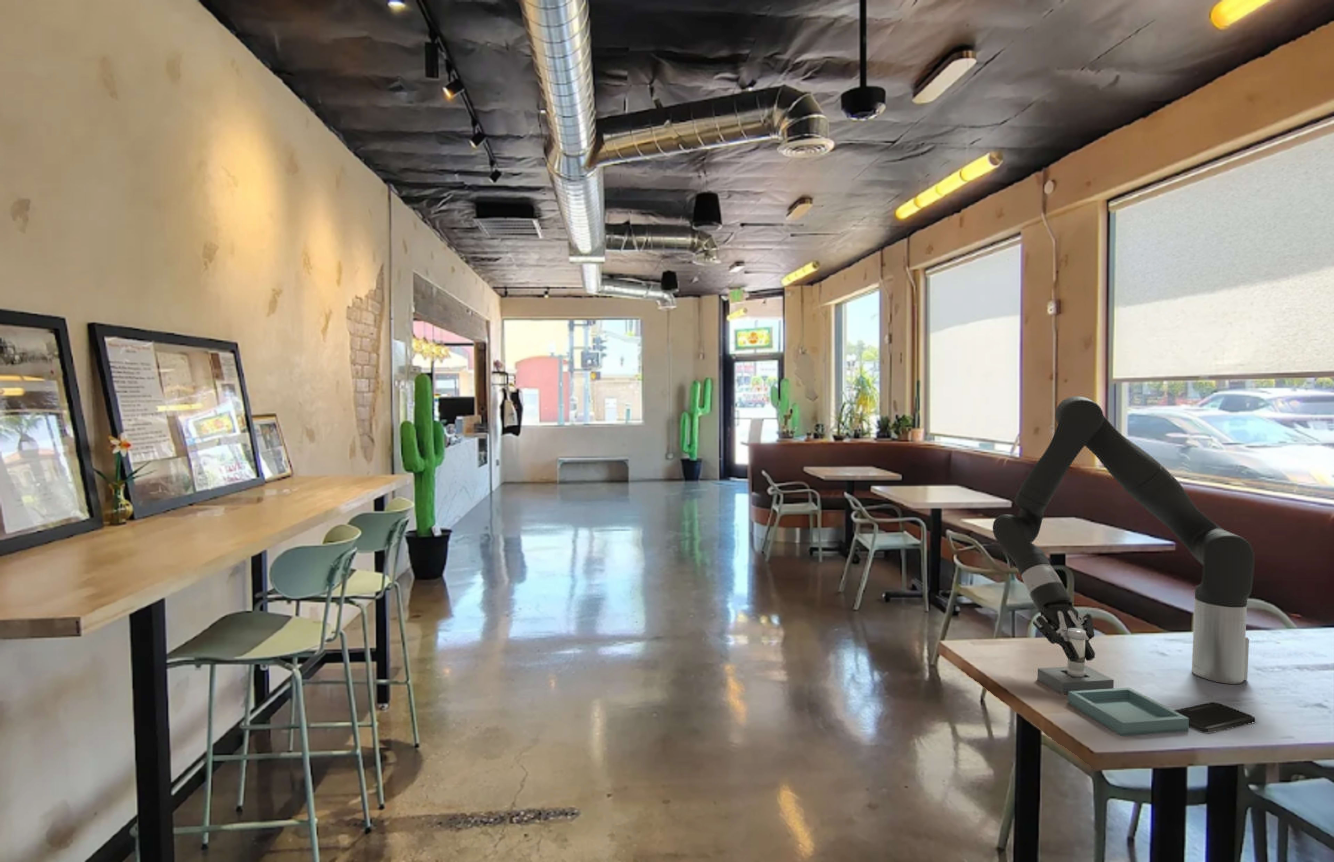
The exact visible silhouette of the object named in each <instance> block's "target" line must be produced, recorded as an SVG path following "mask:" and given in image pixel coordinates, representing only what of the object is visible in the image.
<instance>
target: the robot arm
mask: <svg viewBox="0 0 1334 862" xmlns="http://www.w3.org/2000/svg"><path fill="white" fill-rule="evenodd" d="M1055 420H1056V423H1057V426H1056V429H1055V431H1054V434H1053V436H1052V439H1051V440H1050V442H1049V444H1048V446H1047V447H1046V449H1045V451H1044V452H1043V454H1042V455H1041V457H1040V458H1039V460H1038V461H1037V462H1036V463H1035V465H1034V466H1033V468H1031V470H1030V471H1029V473H1028V475H1026V477H1025V480H1024V481H1023V483H1022V484H1021V486H1020V488H1019V490H1018V492H1016V496H1015V498H1014V503H1015V504H1016V505H1017V506H1018V507H1019V508H1020V509H1019V513H1018V516H1017V515H1013V514H1008V513H1007V514H1006V513H1005V514H1004V513H1003V514H1001V515H999V516H997V517H996V518H994V521H993V524H992V533H993V535H994V538H995V540H996V541H997V543H998V544H999V546H1000V547H1001V548H1002V549H1003V550H1004V552H1005V553H1006V554H1007V556H1008V557H1009V558H1010V559H1011V560H1012V561H1013V562H1014V564H1015V567H1016V568H1017V571H1018V573H1019V574H1020V576H1021V579H1022V580H1023V584H1024V586H1025V589H1026V591H1027V593H1028V594H1029V596H1030V598H1031V600H1032V603H1033V604H1034V606H1035V608H1036V610H1037V612H1038V613H1039V614H1040V615H1039V616H1037V617H1036V618H1035V619H1033V621H1032V624H1033V626H1034V627H1035V628H1036V629H1037V631H1039V632H1040V633H1041V634H1042V635H1043V636H1044V638H1046V639H1047V640H1048V642H1050V644H1052V645H1054V644H1056V645H1059V646H1061V649H1062V650H1063V653H1064V654H1065V656H1066V658H1067V660H1068V659H1070V661H1071V662H1075V661H1076V660H1078V659H1079V656H1078V654H1077V652H1076V650H1075V648H1074V646H1073V645H1072V643H1071V642H1069V637H1068V628H1078V629H1082V630H1085V631H1086V639H1085V661H1089V662H1090V661H1092V660H1093V659H1095V655H1096V652H1095V651H1094V649H1093V647H1092V645H1091V643H1090V640H1092V639H1093V638H1094V637H1096V636H1095V630H1094V623H1093V617H1092V615H1091V614H1090V613H1086V614H1082V613H1080V612H1079V611H1078V610H1077V609H1076V608H1075V607H1074V606H1073V601H1072V600H1073V599H1072V598H1071V597H1070V595H1069V593H1068V591H1067V589H1066V588H1065V585H1064V584H1063V581H1062V580H1061V578H1060V576H1059V575H1058V573H1057V572H1056V570H1055V569H1054V568H1053V566H1052V565H1051V563H1050V560H1049V559H1048V557H1047V556H1046V554H1045V552H1044V551H1043V549H1041V548H1040V547H1039V546H1038V545H1035V544H1034V543H1033V542H1034V541H1035V540H1036V539H1037V537H1038V536H1039V533H1040V530H1041V526H1042V522H1043V520H1044V519H1043V518H1044V515H1045V514H1044V513H1045V510H1046V508H1047V506H1048V505H1049V503H1050V502H1051V500H1052V498H1053V497H1054V495H1055V492H1056V491H1057V490H1058V487H1059V486H1060V484H1061V482H1062V480H1063V478H1064V477H1065V475H1066V473H1067V472H1068V471H1069V468H1070V466H1072V464H1073V462H1074V460H1075V459H1076V458H1077V457H1078V455H1079V454H1080V453H1081V452H1082V450H1083V448H1084V447H1086V448H1087V449H1088V450H1089V451H1091V453H1092V454H1093V455H1095V457H1096V458H1097V460H1099V461H1100V463H1101V464H1102V466H1103V467H1104V468H1105V469H1106V470H1107V472H1108V473H1109V474H1110V475H1111V476H1112V477H1113V479H1114V480H1115V481H1116V482H1117V483H1118V484H1119V485H1120V486H1121V487H1122V488H1123V489H1124V490H1125V491H1126V492H1127V493H1128V494H1129V496H1131V497H1132V498H1133V499H1134V500H1135V501H1136V502H1137V503H1139V504H1140V505H1141V506H1142V508H1144V509H1145V510H1147V511H1148V512H1149V513H1150V514H1151V515H1152V516H1154V517H1155V518H1156V519H1158V521H1160V522H1161V523H1163V524H1164V525H1165V526H1166V527H1168V528H1169V529H1170V530H1171V531H1172V533H1173V534H1174V535H1175V536H1176V537H1177V538H1178V539H1179V541H1180V542H1181V543H1182V544H1183V545H1184V546H1185V547H1186V548H1187V549H1186V550H1188V552H1189V553H1191V555H1192V556H1193V557H1194V558H1195V559H1196V560H1197V562H1199V563H1200V564H1201V565H1202V567H1203V569H1202V579H1201V582H1200V583H1199V584H1197V585H1196V586H1195V589H1194V610H1193V611H1194V612H1193V614H1194V615H1193V633H1192V635H1193V636H1192V637H1193V638H1192V655H1191V657H1192V659H1191V672H1192V673H1193V674H1194V675H1196V676H1198V677H1199V678H1202V679H1206V680H1209V681H1212V682H1216V683H1223V684H1231V685H1232V684H1233V685H1235V684H1236V685H1237V684H1242V683H1243V682H1244V681H1247V680H1248V675H1249V674H1248V672H1249V650H1250V648H1249V647H1250V639H1249V637H1247V636H1246V633H1247V632H1246V631H1247V612H1248V611H1247V610H1248V607H1247V606H1248V598H1249V597H1250V596H1251V593H1252V589H1253V582H1254V571H1255V570H1254V569H1255V552H1254V549H1253V547H1252V545H1251V543H1250V542H1249V541H1247V539H1245V538H1244V537H1242V536H1240V535H1237V534H1235V533H1232V532H1230V531H1228V530H1226V529H1223V528H1222V527H1220V526H1219V525H1218V524H1217V523H1215V522H1214V521H1212V520H1211V519H1210V518H1209V517H1207V516H1206V515H1205V514H1204V513H1203V512H1201V510H1199V508H1198V507H1197V506H1196V505H1195V504H1194V503H1193V501H1192V500H1191V498H1190V497H1189V495H1188V494H1187V493H1188V492H1186V490H1185V489H1184V488H1183V486H1182V484H1181V483H1180V482H1179V481H1178V479H1176V477H1174V475H1172V473H1170V471H1169V470H1168V469H1166V468H1165V467H1164V466H1163V465H1162V464H1161V463H1160V462H1159V461H1157V460H1156V459H1155V458H1154V457H1153V456H1151V454H1149V453H1148V452H1146V450H1144V449H1142V448H1141V447H1139V445H1137V444H1135V443H1134V442H1132V441H1131V440H1130V439H1128V438H1126V437H1125V436H1124V435H1123V434H1122V433H1120V432H1119V431H1118V430H1117V428H1115V427H1114V425H1112V423H1111V422H1110V421H1109V420H1108V419H1107V417H1106V416H1105V415H1104V411H1103V409H1102V408H1101V406H1100V405H1099V404H1098V403H1097V402H1095V401H1094V400H1092V399H1090V398H1087V397H1085V396H1080V395H1079V396H1070V397H1067V398H1064V399H1063V400H1062V401H1061V402H1060V403H1059V404H1058V405H1057V407H1056V409H1055Z"/></svg>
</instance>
